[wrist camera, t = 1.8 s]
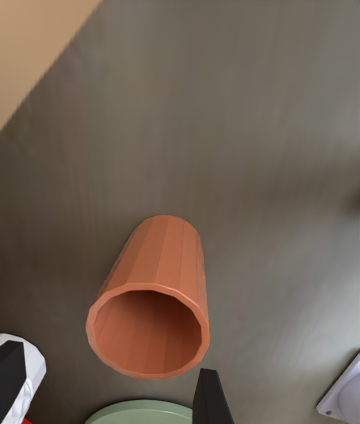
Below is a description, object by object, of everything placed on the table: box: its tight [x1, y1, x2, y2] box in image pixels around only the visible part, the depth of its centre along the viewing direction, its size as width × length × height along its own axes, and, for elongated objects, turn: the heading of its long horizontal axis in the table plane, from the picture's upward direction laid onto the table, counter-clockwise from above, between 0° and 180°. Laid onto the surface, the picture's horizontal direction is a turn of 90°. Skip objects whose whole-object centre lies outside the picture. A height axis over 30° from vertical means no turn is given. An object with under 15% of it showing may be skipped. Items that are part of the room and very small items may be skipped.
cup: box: [85, 215, 210, 380], centre depth 15 cm, size 5×5×8 cm
